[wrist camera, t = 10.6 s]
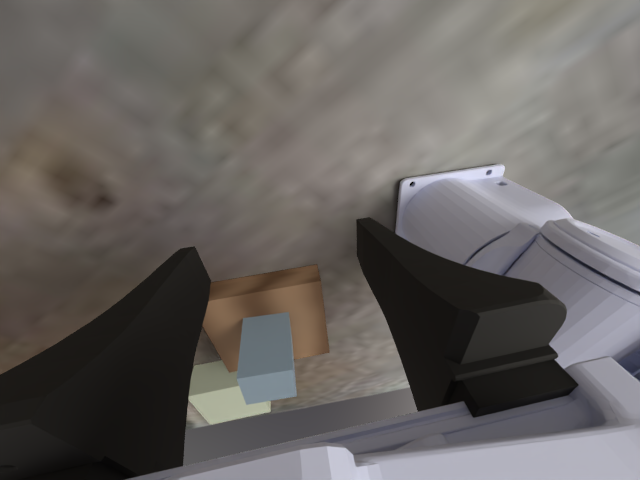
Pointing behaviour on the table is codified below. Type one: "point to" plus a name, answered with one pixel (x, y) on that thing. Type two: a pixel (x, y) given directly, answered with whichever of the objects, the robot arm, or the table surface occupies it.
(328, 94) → the table surface
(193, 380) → the sage block
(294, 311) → the walnut block
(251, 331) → the slate block
